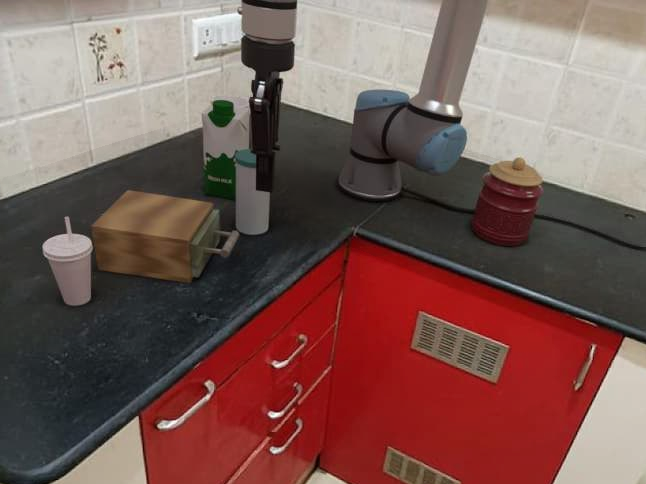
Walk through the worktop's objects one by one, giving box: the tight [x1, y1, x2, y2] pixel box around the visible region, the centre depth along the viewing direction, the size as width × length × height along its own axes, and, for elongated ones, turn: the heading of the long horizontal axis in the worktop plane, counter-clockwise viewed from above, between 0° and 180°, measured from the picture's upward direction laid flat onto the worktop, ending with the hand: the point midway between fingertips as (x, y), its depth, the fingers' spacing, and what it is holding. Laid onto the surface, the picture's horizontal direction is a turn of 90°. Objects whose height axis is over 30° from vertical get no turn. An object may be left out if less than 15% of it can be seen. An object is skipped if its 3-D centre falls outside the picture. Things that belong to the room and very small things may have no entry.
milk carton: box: [201, 100, 251, 201], centre depth 117 cm, size 9×9×20 cm
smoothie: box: [42, 216, 94, 307], centre depth 81 cm, size 6×6×14 cm
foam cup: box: [210, 94, 251, 114], centre depth 137 cm, size 10×9×13 cm
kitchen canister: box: [470, 157, 544, 247], centre depth 120 cm, size 13×13×18 cm
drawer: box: [190, 208, 240, 278], centre depth 96 cm, size 18×13×6 cm
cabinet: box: [90, 189, 215, 284], centre depth 96 cm, size 15×14×8 cm
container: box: [235, 148, 271, 236], centre depth 107 cm, size 7×7×15 cm
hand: (264, 189), depth 91 cm, fingers closed
